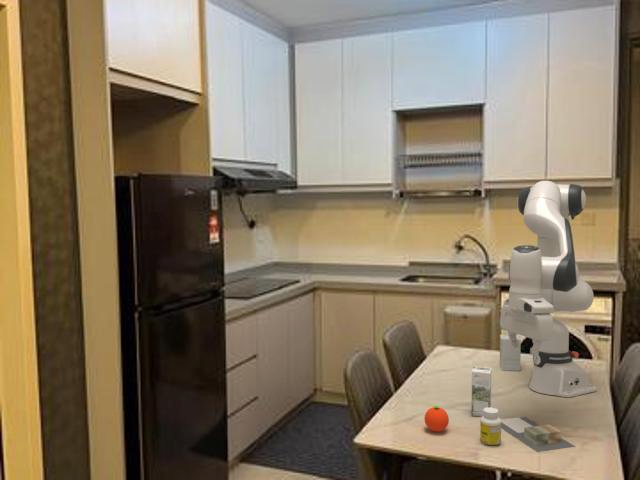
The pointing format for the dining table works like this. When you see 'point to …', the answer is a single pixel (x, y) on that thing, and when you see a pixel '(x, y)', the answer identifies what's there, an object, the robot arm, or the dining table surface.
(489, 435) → the supplement bottle
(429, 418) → the clementine
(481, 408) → the syrup box
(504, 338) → the supplement box
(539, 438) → the shiny reflective rectangular block
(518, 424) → the mat
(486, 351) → the dining table surface
